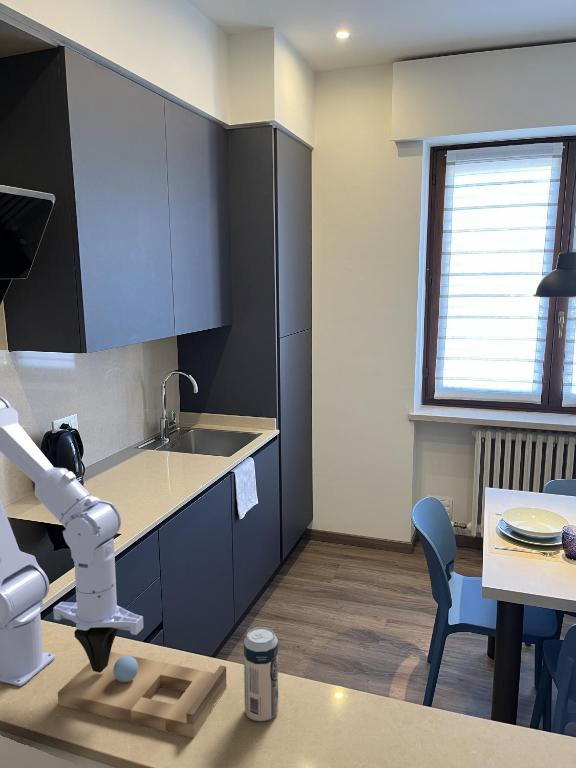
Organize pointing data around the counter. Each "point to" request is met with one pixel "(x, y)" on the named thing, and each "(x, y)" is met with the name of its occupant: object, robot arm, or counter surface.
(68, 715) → the counter surface
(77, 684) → the board
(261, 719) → the beer can
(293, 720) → the counter surface
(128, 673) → the ball
